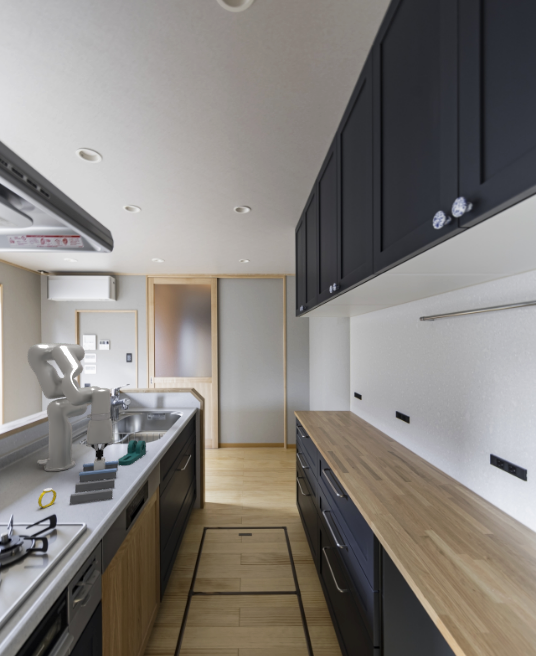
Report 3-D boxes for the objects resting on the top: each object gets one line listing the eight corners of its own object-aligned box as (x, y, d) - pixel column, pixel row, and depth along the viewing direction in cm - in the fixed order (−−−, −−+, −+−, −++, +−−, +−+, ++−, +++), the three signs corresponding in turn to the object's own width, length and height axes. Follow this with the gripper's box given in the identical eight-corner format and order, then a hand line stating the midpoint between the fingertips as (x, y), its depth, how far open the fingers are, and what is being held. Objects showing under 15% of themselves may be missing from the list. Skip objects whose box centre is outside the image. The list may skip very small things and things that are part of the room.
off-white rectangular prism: (93, 478, 155) (93, 461, 155) (95, 474, 160) (95, 458, 160) (103, 477, 156) (104, 460, 156) (104, 473, 161) (105, 457, 161)
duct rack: (69, 504, 130) (69, 493, 130) (83, 472, 161) (83, 463, 161) (112, 498, 135) (113, 488, 135) (118, 468, 166) (118, 460, 166)
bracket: (133, 453, 188) (133, 438, 189) (145, 454, 188) (146, 439, 188) (115, 465, 171) (115, 449, 171) (129, 466, 170) (129, 449, 170)
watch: (52, 502, 132) (53, 486, 133) (57, 504, 131) (58, 487, 132) (35, 508, 127) (37, 491, 127) (41, 510, 125) (42, 492, 126)
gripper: (80, 419, 153) (78, 463, 152) (118, 417, 158) (117, 459, 157) (82, 416, 160) (81, 457, 159) (119, 414, 165) (118, 454, 164)
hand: (99, 458), depth 158 cm, fingers closed
